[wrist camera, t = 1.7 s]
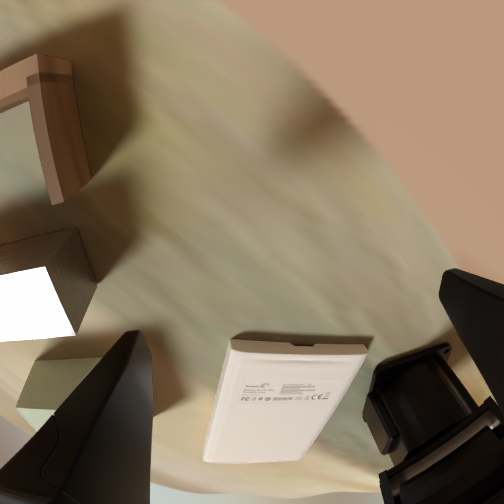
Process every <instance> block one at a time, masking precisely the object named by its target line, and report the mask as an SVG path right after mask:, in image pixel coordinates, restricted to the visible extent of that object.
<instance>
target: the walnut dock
mask: <svg viewBox="0 0 504 504" xmlns="http://www.w3.org/2000/svg"><path fill="white" fill-rule="evenodd" d="M27 101H29V104H30V110H31V116H32V122H33V128H34V133H35V138H36V143H37V148H38V153H39V157H40V161H41V166H42V170H43V174H44V178H45V182H46V186H47V189H48V193H49V197H50V200H51V204H52V205H55V204H58V203H62V202H65V201H66V200H67V199H68V198H69V197H71V196H72V195H73V194H74V193H75V192H76V191H78V190H79V189H80V188H81V187H82V186H84V185H85V184H86V183H87V182H89V181H90V180H91V179H92V178H91V174H90V169H89V165H88V160H87V156H86V151H85V146H84V141H83V136H82V131H81V126H80V120H79V114H78V108H77V102H76V95H75V88H74V81H73V73H72V65H71V61H70V60H65V59H61V58H56V57H52V56H47V55H42V54H35V55H33V56H30V57H28V58H26V59H24V60H22V61H20V62H17V63H15V64H13V65H11V66H9V67H7V68H5V69H3V70H1V71H0V113H2V112H4V111H6V110H8V109H11V108H13V107H15V106H17V105H20V104H22V103H24V102H27Z"/></svg>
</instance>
